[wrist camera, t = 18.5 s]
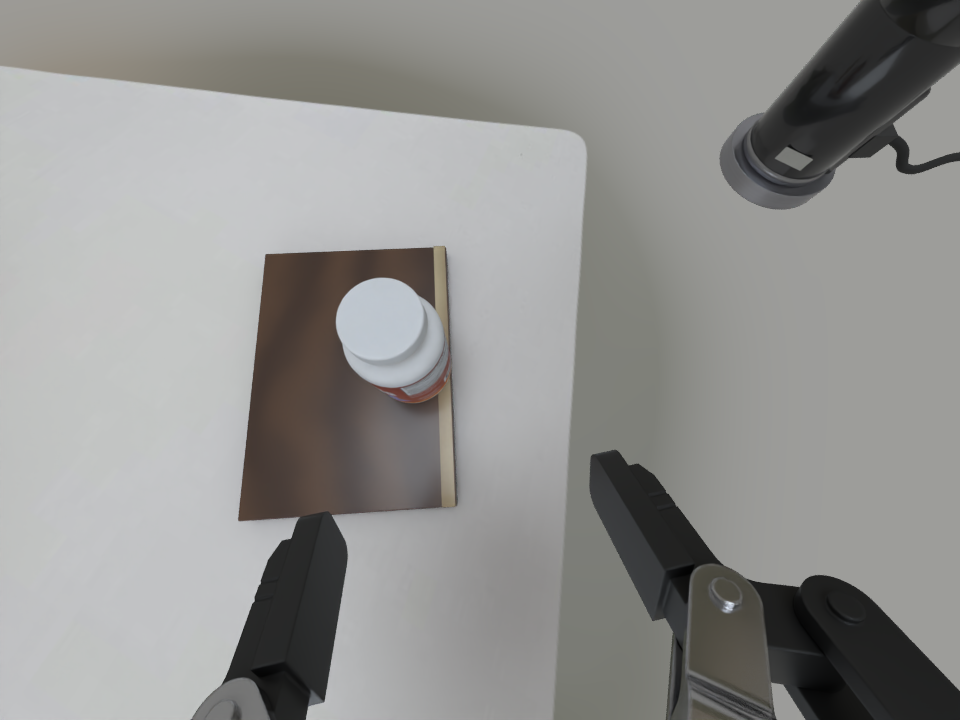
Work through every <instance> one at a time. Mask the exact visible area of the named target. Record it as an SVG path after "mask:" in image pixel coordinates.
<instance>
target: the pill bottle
mask: <svg viewBox="0 0 960 720" xmlns="http://www.w3.org/2000/svg"><path fill="white" fill-rule="evenodd" d="M336 329H337V333H338V336H339V338H340V340H341V342H342V343H343V350H344V354H345V357H346V359H347V361H348V363H349V364H350V366H351V367H352V369H353V370H354V371H355V372H356V373H357V374H358V375H359V376H361V377H362V378H363V379H365V380H366V381H367V382H369V383H370V384H372V385H373V386H375V387H376V388H378V389H379V390H381V391H382V392H384V393H385V394H387V395H388V396H390V397H391V398H393V399H395V400H398V401H401V402H405V403H420V402H424V401H427V400H429V399H431V398H433V397H434V396H436V395H437V394H438V393H439V392H440V391H441V390H442V389H443V388H444V386H445V385H446V383H447V381H448V379H449V377H450V373H451V367H452V363H451V355H450V351H449V347H448V343H447V339H446V336H445V332H444V328H443V325H442V322H441V320H440V317H439V315H438V313H437V312H436V310H435V309H434V308H433V307H432V305H431V304H430V303H429V302H427V301H426V300H425V299H423V298H422V297H420V296H418V295H417V294H416V293H415V291H414V290H413V289H412V288H410V287H409V286H408V285H406V284H405V283H403V282H401V281H398V280H395V279H391V278H374V279H370V280H367V281H364V282H362V283H360V284H358V285H356V286H355V287H354V288H352V289H351V290H350V291H349V292H348V293H347V294H346V295H345V297H344V298H343V299H342V301H341V303H340V305H339V307H338V310H337V315H336Z"/></svg>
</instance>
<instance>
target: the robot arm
mask: <svg viewBox="0 0 960 720" xmlns="http://www.w3.org/2000/svg"><path fill="white" fill-rule="evenodd" d="M959 64H960V0H861V1H860V2H859V3H858V5H856V7H855V8H854V9H853V10H852V11H851V13H850V14H849V15H848V16H847V17H846V18H845V20H844V21H843V22H842V23H841V24H840V25H839V27H838V28H837V29H836V30H835V31H834V32H833V34H832V35H831V36H830V37H829V38H828V39H827V41H826V42H825V43H824V44H823V45H822V46H821V48H820V49H819V50H818V51H817V52H816V54H815V55H814V56H813V57H812V58H811V60H810V61H809V62H808V63H807V64H806V65H805V66H804V68H803V69H802V70H801V71H800V72H799V73H798V75H797V76H796V77H795V78H794V79H793V80H792V82H791V83H790V84H789V85H788V87H786V89H785V90H784V91H783V92H782V93H781V94H780V96H779V97H778V98H777V99H776V100H775V102H774V103H773V104H772V105H771V106H770V107H769V108H768V110H767V111H766V112H765V113H764V114H763V115H762V117H761V118H760V119H759V120H757V121H756V122H755V123H754V125H753V126H752V127H751V128H750V129H749V131H748V132H747V133H746V135H745V138H744V143H743V148H744V153H745V156H746V158H747V160H748V162H749V163H750V165H751V166H752V167H753V169H754V170H755V171H756V172H758V173H759V174H760V175H761V176H763V177H764V178H766V179H767V180H769V181H771V182H774V183H776V184H779V185H783V186H790V187H799V186H805V185H808V184H811V183H813V182H814V181H816V180H817V179H818V178H820V177H821V176H822V175H823V174H829V173H831V172H832V171H833V170H835V169H836V168H837V167H838V166H839V165H841V164H842V163H843V162H845V161H846V160H847V159H848V158H866V157H871V156H872V155H874V154H875V153H876V152H878V151H879V150H881V149H882V148H883V147H885V146H886V145H887V144H889V145H890V146H892V147H893V148H894V149H895V150H896V152H897V159H896V168H897V170H898V171H899V172H902V173H905V174H916V173H920V172H923V171H926V170H929V169H932V168H934V167H937V166H940V165H942V164H946V163H949V162H954V161H960V152H959V153H953V154H949V155H946V156H943V157H940V158H937V159H934V160H932V161H929V162H927V163H924V164H920V165H914V166H913V165H910V164H908V158H909V147H908V145H907V143H906V142H905V141H904V140H903V139H902V138H901V137H900V136H898V134H897V132H896V130H895V128H894V125H893V123H894V122H895V121H896V120H898V119H899V118H900V117H902V116H903V115H904V114H905V113H907V112H908V111H909V110H910V109H912V108H913V107H914V106H915V105H917V104H918V103H919V102H920V101H922V100H923V99H924V98H925V97H927V95H928V94H929V93H930V90H931V86H932V85H934V84H935V83H936V82H938V81H939V80H940V79H941V78H942V77H944V76H945V75H946V74H947V73H949V72H950V71H951V70H952V69H954V68H955V67H956V66H957V65H959ZM590 494H591V498H592V501H593V504H594V507H595V509H596V511H597V513H598V514H599V517H600V519H601V520H602V522H603V524H604V526H605V528H606V530H607V532H608V534H609V536H610V538H611V540H612V542H613V544H614V546H615V548H616V550H617V552H618V554H619V556H620V558H621V560H622V562H623V564H624V566H625V568H626V570H627V572H628V574H629V576H630V577H631V579H632V581H633V583H634V585H635V587H636V589H637V591H638V593H639V595H640V597H641V599H642V601H643V603H644V605H645V607H646V609H647V611H648V613H649V615H650V617H651V619H652V621H655V620H659V619H663V618H666V620H667V621H668V623H669V625H670V627H671V629H672V631H673V636H672V649H671V650H672V651H671V662H670V674H669V688H668V700H667V714H666V720H776V717H775V713H774V707H773V698H772V687H771V682H772V683H778V684H783V685H784V687H785V688H786V690H787V691H788V693H789V694H790V696H791V698H792V699H793V701H794V702H795V704H796V705H797V707H798V708H799V710H800V711H801V713H802V715H803V716H804V718H805V719H806V720H960V691H959V690H958V689H957V688H956V687H955V686H954V685H953V684H952V683H951V682H950V680H948V678H947V677H946V676H945V675H944V674H943V673H942V672H941V671H940V670H939V669H938V668H937V667H936V666H935V665H934V664H933V663H932V662H931V661H930V660H929V659H928V657H927V656H926V655H925V654H924V653H923V652H922V651H921V650H920V649H919V648H918V647H917V646H916V645H915V644H914V643H913V642H912V641H911V640H910V639H909V638H908V637H907V636H906V635H905V634H904V632H903V631H902V630H901V629H900V628H899V627H898V626H897V625H896V624H895V623H894V622H893V621H892V620H891V619H890V618H889V617H888V616H887V615H886V614H885V613H884V612H883V611H882V610H881V608H880V607H878V605H877V604H876V603H875V602H873V600H871V599H870V598H869V597H868V596H867V595H866V594H864V593H863V592H862V591H860V590H859V589H857V588H856V587H854V586H852V585H851V584H849V583H847V582H844V581H842V580H840V579H837V578H834V577H830V576H824V575H815V576H811V577H809V578H807V579H805V581H804V582H803V583H802V585H801V586H800V587H794V586H786V585H776V584H767V583H760V582H755V581H752V580H748V579H746V578H744V577H743V576H742V575H740V574H739V573H738V572H736V571H734V570H732V569H730V568H728V567H726V566H724V565H723V564H721V563H720V561H719V560H717V558H716V557H715V556H714V555H713V553H712V552H711V551H710V550H709V548H708V547H707V545H706V544H705V543H704V541H703V540H702V539H701V537H700V536H699V535H698V533H697V532H696V531H695V529H694V528H693V527H692V525H691V524H690V523H689V521H688V520H687V519H686V517H685V516H684V514H683V513H682V512H681V510H680V509H679V508H678V507H676V505H675V503H674V501H673V500H672V498H671V497H670V496H669V494H667V493H666V490H665V489H664V488H663V486H662V485H661V484H660V482H659V481H658V479H657V478H656V477H655V476H654V475H653V474H652V473H650V472H649V471H648V470H646V469H645V468H643V467H642V466H641V465H639V464H634V465H629V466H628V464H627V463H626V461H625V460H624V458H623V457H622V456H621V454H620V453H619V452H618V451H617V450H612V451H607V452H602V453H598V454H593V455H592V456H591V462H590ZM347 559H348V554H347V545H346V542H345V539H344V538H343V536H342V534H341V532H340V530H339V528H338V526H337V525H336V523H335V521H334V519H333V517H332V515H331V514H330V512H328V511H325V512H320V513H315V514H311V515H306V516H302V517H300V518H299V519H298V521H297V523H296V526H295V529H294V532H293V535H292V538H291V539H288V540H283V541H281V543H280V544H279V546H278V547H277V548H276V550H275V551H274V553H273V554H272V555H271V557H270V558H269V560H268V562H267V565H266V568H265V570H264V573H263V576H262V579H261V585H259V587H258V590H257V593H256V595H255V602H254V603H253V604H252V607H251V609H250V612H249V615H248V618H247V620H246V623H245V626H244V629H243V632H242V634H241V637H240V640H239V643H238V646H237V648H236V651H235V654H234V657H233V659H232V662H231V665H230V668H229V670H228V673H227V675H226V677H225V679H224V681H223V683H222V685H221V686H220V687H218V688H217V689H216V690H215V691H213V692H212V693H211V694H210V695H209V696H208V697H207V698H206V700H205V701H204V702H203V703H202V704H201V706H200V707H199V708H198V710H197V711H196V713H195V714H194V716H193V718H192V719H191V720H306V715H307V710H308V706H311V705H315V704H319V703H323V702H324V701H325V695H326V689H327V683H328V677H329V671H330V665H331V659H332V653H333V646H334V640H335V634H336V628H337V622H338V616H339V610H340V604H341V598H342V591H343V585H344V579H345V573H346V567H347Z"/></svg>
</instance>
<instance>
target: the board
mask: <svg viewBox="0 0 960 720" xmlns="http://www.w3.org/2000/svg"><path fill="white" fill-rule="evenodd" d="M374 278H391V279H395V280H398V281H401V282H403V283H405V284H406V285H408V286H409V287H410V288H412V289H413V290H414V291H415V293H416V294H417V295H418V296H420V297H422V298H423V299H425V300H426V301H427V302H429V303H430V304H431V305H432V307H433V308H434V309H435V310H436V312H437V313H438V315H439V317H440V320H441V322H442V325H443V328H444V332H445V336H446V339H447V343H448V347H449V351H450V355H451V342H450V319H449V295H448V271H447V253H446V247H445V246H434V247H433V248H408V249H384V250H359V251H334V252H309V253H285V254H266V256H265V266H264V275H263V285H262V295H261V304H260V314H259V324H258V333H257V343H256V353H255V362H254V372H253V382H252V392H251V401H250V411H249V421H248V430H247V440H246V450H245V459H244V469H243V479H242V488H241V498H240V508H239V517H238V521H250V520H264V519H278V518H293V517H302V516H306V515H311V514H315V513H320V512H325V511H328V512H330V514H331V515H336V514H351V513H365V512H380V511H394V510H409V509H423V508H438V507H455V506H456V505H457V483H456V460H455V436H454V413H453V389H452V367H451V373H450V377H449V379H448V381H447V383H446V385H445V386H444V388H443V389H442V390H441V391H440V392H439V393H438V394H437V395H436V396H434V397H433V398H431V399H429V400H427V401H424V402H420V403H405V402H401V401H398V400H395V399H393V398H391V397H390V396H388V395H387V394H385V393H384V392H382V391H381V390H379V389H378V388H376V387H375V386H373V385H372V384H370V383H369V382H367V381H366V380H365V379H363V378H362V377H361V376H359V375H358V374H357V373H356V372H355V371H354V370H353V369H352V367H351V366H350V364H349V363H348V361H347V359H346V357H345V354H344V350H343V343H342V342H341V340H340V338H339V336H338V333H337V329H336V315H337V310H338V307H339V305H340V303H341V301H342V299H343V298H344V297H345V295H346V294H347V293H348V292H349V291H350V290H351V289H352V288H354V287H355V286H356V285H358V284H360V283H362V282H364V281H367V280H370V279H374Z"/></svg>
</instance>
